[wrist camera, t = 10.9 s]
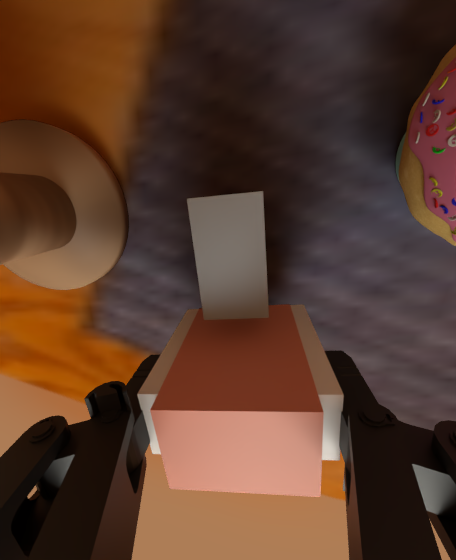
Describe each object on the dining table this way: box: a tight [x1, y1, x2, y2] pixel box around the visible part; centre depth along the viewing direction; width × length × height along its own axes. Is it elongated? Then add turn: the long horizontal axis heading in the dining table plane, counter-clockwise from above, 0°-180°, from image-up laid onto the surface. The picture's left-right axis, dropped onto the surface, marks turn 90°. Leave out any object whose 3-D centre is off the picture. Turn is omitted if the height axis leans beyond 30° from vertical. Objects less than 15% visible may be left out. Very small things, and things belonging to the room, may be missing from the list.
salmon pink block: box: [150, 304, 324, 497], centre depth 11 cm, size 4×5×7 cm
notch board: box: [187, 191, 269, 320], centre depth 14 cm, size 14×2×7 cm, turn 6°
